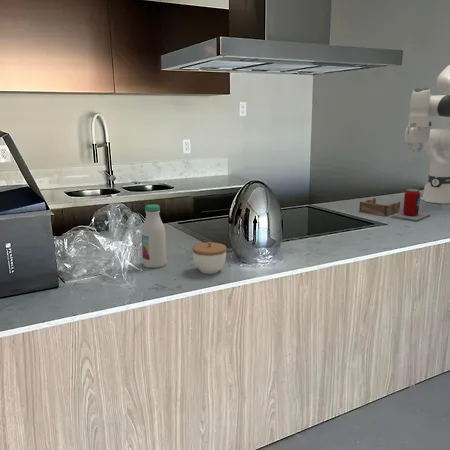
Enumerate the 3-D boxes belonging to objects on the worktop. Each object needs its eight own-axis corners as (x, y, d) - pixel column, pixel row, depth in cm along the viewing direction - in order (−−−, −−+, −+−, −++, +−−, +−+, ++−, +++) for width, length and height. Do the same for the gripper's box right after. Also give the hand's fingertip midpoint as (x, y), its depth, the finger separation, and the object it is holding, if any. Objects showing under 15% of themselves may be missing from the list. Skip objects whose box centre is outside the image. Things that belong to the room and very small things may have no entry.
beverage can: (420, 216, 216) (423, 190, 213) (406, 216, 216) (408, 191, 213) (414, 213, 222) (416, 188, 219) (400, 213, 222) (402, 188, 219)
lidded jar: (187, 268, 150) (186, 240, 147) (216, 263, 155) (215, 235, 153) (202, 278, 141) (202, 249, 138) (232, 272, 146) (233, 243, 144)
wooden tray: (373, 207, 240) (374, 198, 239) (399, 211, 230) (400, 201, 229) (359, 211, 230) (360, 202, 229) (385, 216, 221) (386, 206, 219)
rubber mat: (405, 212, 228) (405, 210, 228) (429, 216, 220) (430, 214, 220) (391, 217, 218) (391, 215, 218) (416, 221, 210) (416, 219, 210)
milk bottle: (167, 260, 157) (165, 202, 152) (165, 268, 150) (163, 207, 145) (144, 261, 157) (141, 203, 152) (141, 268, 149) (138, 208, 145)
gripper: (415, 123, 212) (412, 154, 215) (433, 122, 226) (430, 151, 229) (402, 123, 216) (399, 153, 220) (420, 122, 230) (417, 150, 234)
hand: (415, 152), depth 225 cm, fingers open, 8 cm apart
